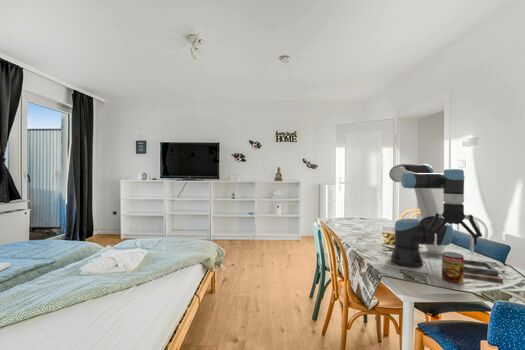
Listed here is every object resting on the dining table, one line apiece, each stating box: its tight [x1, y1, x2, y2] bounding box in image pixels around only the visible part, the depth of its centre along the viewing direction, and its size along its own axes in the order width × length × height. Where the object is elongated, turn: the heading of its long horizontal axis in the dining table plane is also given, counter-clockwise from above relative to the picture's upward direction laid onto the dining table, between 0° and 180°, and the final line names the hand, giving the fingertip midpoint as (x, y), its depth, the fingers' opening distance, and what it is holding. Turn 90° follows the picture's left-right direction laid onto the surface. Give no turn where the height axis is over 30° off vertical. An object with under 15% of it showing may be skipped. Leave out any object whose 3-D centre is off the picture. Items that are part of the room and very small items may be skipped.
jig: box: [463, 258, 504, 283], centre depth 128 cm, size 18×18×4 cm
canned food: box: [441, 251, 465, 285], centre depth 118 cm, size 8×8×12 cm
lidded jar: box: [424, 244, 446, 255], centre depth 159 cm, size 11×11×9 cm
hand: (453, 250), depth 118 cm, fingers open, 13 cm apart
